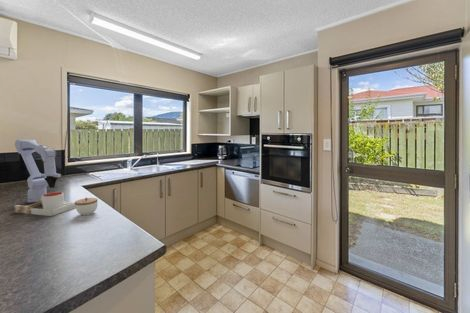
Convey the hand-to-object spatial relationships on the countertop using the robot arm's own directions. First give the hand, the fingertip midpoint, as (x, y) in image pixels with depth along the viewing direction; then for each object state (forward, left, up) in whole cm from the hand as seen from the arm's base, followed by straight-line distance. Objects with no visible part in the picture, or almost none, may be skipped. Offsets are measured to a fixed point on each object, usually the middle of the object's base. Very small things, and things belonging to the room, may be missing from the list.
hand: (52, 187), depth 145 cm
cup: (+10, -17, -11) cm, 23 cm away
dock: (+9, -17, -10) cm, 22 cm away
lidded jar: (+32, -28, -11) cm, 43 cm away
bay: (-3, -11, -10) cm, 16 cm away
